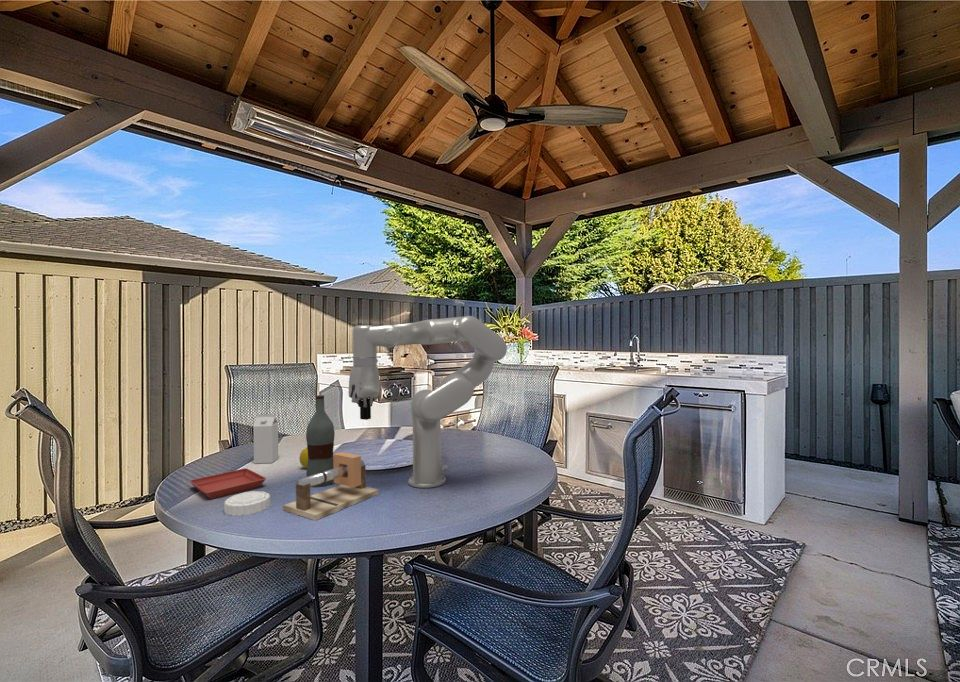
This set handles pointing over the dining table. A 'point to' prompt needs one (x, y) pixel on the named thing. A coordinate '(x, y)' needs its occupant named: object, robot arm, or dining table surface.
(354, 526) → the dining table surface
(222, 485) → the plant saucer
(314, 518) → the pipe stand
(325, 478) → the pipe
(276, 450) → the milk carton
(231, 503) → the mooncake
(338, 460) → the collar
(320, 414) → the bottle
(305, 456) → the lemon
